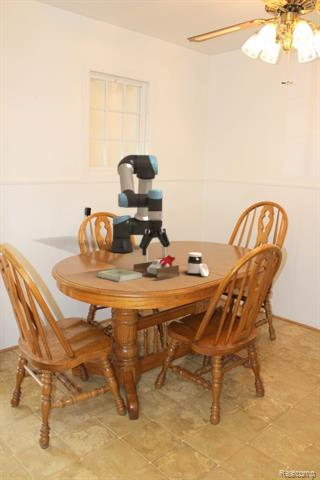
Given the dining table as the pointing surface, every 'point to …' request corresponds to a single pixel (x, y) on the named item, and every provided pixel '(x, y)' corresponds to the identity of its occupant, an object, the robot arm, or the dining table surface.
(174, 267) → the walnut holder
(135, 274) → the sage tray
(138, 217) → the robot arm
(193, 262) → the spread jar
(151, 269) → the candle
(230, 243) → the dining table surface
